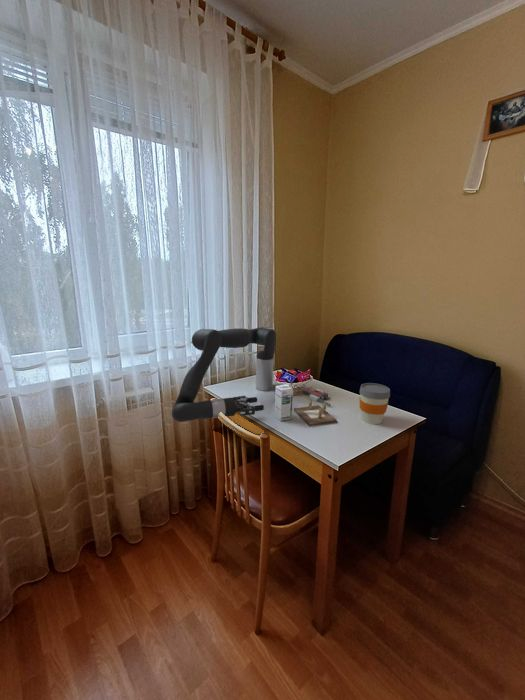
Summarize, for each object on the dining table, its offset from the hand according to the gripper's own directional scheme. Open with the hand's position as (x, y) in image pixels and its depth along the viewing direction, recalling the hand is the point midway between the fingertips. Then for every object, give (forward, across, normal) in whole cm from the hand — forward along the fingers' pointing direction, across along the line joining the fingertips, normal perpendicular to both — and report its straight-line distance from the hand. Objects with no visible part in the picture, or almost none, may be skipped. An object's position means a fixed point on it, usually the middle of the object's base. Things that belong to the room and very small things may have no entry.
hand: (260, 403), depth 135 cm
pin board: (+25, -3, +8) cm, 26 cm away
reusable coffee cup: (+48, -13, +8) cm, 50 cm away
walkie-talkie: (+37, +14, +9) cm, 41 cm away
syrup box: (+11, 0, +8) cm, 14 cm away
